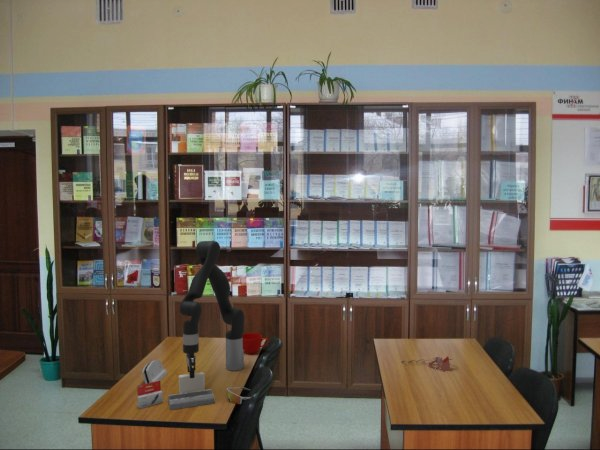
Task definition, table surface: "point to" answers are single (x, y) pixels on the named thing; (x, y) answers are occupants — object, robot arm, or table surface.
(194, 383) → the door panel
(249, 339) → the ceramic cup
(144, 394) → the ink cartridge box
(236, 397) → the sunglasses
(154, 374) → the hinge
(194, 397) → the track
